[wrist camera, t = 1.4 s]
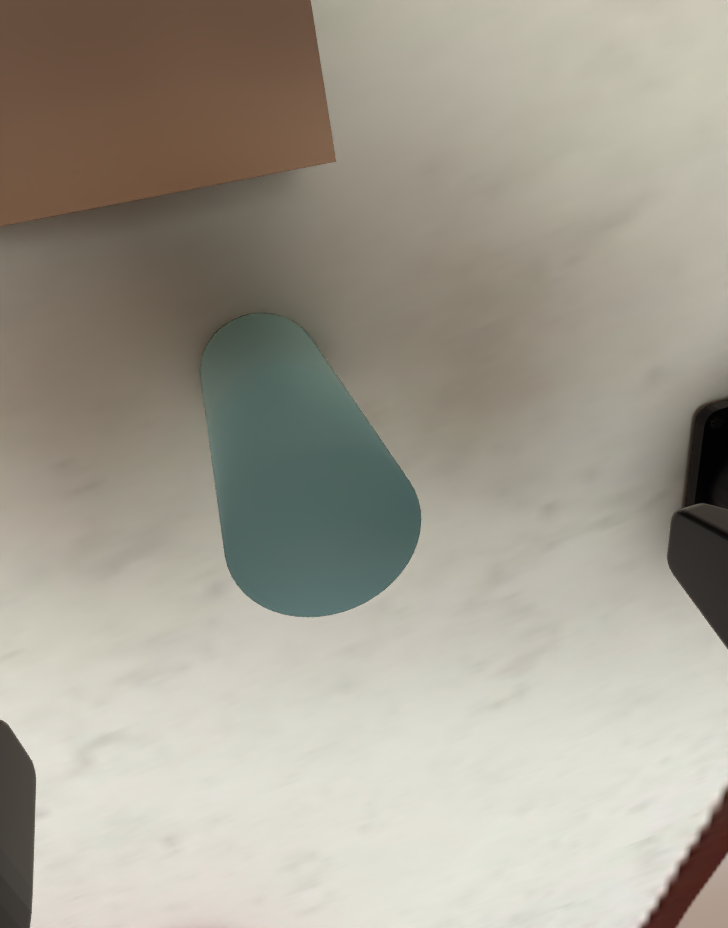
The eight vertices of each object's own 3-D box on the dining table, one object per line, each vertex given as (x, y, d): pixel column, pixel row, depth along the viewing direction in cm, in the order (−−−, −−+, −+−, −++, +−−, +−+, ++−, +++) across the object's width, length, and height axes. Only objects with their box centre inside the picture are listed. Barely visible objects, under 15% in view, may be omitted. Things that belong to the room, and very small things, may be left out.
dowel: (330, 411, 18) (429, 584, 11) (218, 440, 18) (252, 640, 11) (308, 300, 16) (409, 423, 10) (184, 328, 16) (198, 480, 9)
